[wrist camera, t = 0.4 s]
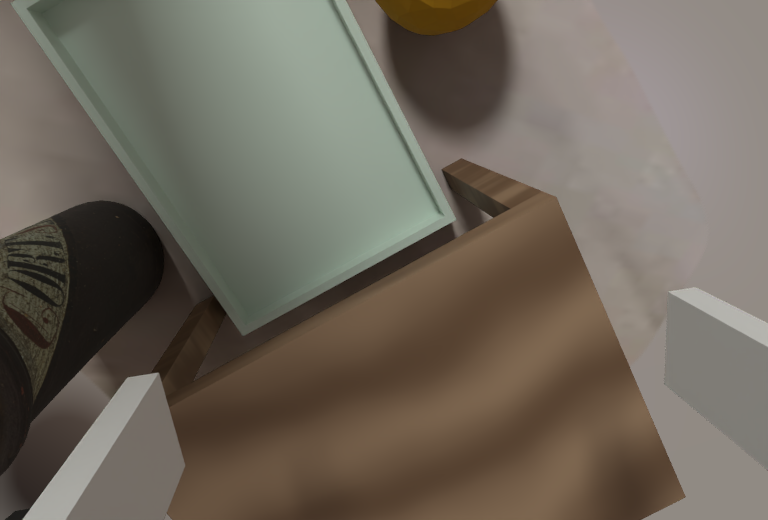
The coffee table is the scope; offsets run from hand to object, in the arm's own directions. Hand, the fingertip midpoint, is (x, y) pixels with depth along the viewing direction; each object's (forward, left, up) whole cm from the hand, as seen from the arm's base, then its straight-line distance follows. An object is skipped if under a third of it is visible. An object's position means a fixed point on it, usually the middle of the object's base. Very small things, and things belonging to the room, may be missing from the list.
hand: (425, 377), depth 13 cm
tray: (-8, -3, -26) cm, 27 cm away
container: (-5, -18, -26) cm, 32 cm away
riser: (+10, -3, -26) cm, 28 cm away
